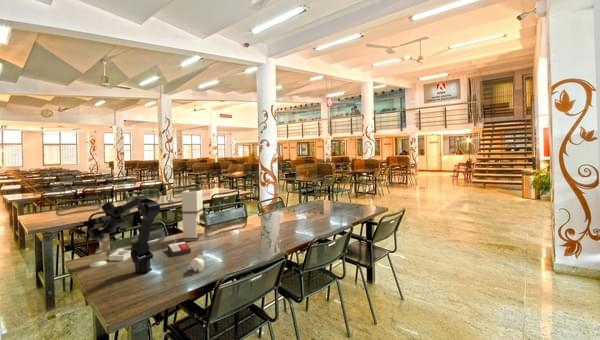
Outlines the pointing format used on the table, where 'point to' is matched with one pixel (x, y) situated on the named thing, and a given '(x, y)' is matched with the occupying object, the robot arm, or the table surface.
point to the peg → (104, 243)
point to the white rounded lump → (197, 263)
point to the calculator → (179, 249)
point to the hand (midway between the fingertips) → (102, 239)
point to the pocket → (120, 255)
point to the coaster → (98, 264)
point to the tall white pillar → (191, 214)
